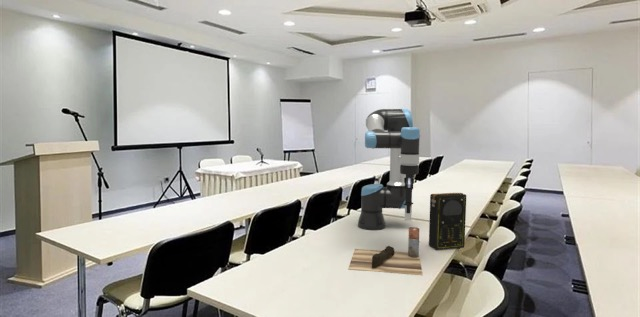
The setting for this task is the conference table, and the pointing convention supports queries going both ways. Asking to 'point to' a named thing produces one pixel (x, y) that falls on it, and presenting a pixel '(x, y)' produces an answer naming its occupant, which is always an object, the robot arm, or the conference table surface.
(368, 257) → the plywood sheet
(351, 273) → the conference table surface
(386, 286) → the conference table surface
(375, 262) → the hand tool
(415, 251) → the copper and grey cylinder
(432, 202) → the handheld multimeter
